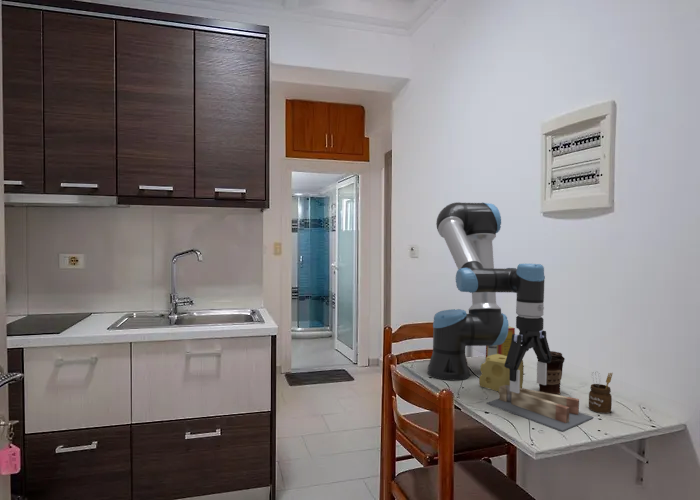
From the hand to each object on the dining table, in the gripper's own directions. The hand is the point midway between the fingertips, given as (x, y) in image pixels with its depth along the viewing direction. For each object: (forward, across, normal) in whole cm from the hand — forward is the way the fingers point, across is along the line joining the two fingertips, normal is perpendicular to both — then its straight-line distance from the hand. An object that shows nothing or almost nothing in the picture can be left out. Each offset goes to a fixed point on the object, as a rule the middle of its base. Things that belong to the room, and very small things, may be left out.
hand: (528, 388), depth 135 cm
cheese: (+6, +10, +16) cm, 20 cm away
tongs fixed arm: (+6, 0, -2) cm, 6 cm away
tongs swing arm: (+6, +4, -3) cm, 8 cm away
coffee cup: (+6, +19, +4) cm, 20 cm away
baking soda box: (+6, +32, +33) cm, 47 cm away
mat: (+6, +1, -3) cm, 7 cm away
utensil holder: (+6, +17, -13) cm, 22 cm away
